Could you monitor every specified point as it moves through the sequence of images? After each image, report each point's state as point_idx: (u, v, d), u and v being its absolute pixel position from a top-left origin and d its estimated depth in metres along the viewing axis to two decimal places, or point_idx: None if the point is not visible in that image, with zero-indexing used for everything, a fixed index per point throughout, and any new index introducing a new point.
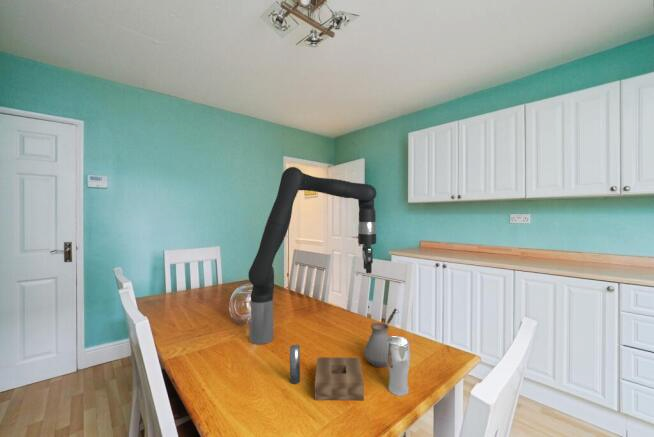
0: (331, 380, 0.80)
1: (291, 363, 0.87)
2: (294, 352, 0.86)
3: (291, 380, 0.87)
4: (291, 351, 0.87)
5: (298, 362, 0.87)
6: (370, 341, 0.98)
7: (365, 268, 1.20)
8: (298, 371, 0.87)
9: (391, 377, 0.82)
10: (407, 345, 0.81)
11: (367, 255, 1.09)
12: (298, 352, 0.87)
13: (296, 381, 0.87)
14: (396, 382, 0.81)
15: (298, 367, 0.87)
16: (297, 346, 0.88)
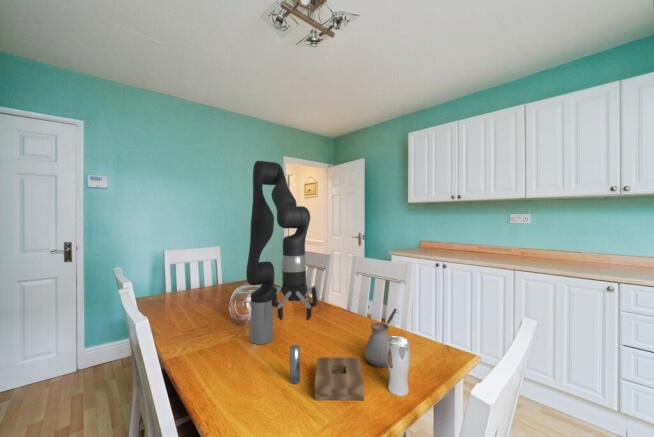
0: (331, 380, 0.80)
1: (291, 363, 0.87)
2: (294, 352, 0.86)
3: (291, 380, 0.87)
4: (291, 351, 0.87)
5: (298, 362, 0.87)
6: (370, 341, 0.98)
7: None
8: (298, 371, 0.87)
9: (391, 377, 0.82)
10: (407, 345, 0.81)
11: (316, 296, 0.87)
12: (298, 352, 0.87)
13: (296, 381, 0.87)
14: (396, 382, 0.81)
15: (298, 367, 0.87)
16: (297, 346, 0.88)
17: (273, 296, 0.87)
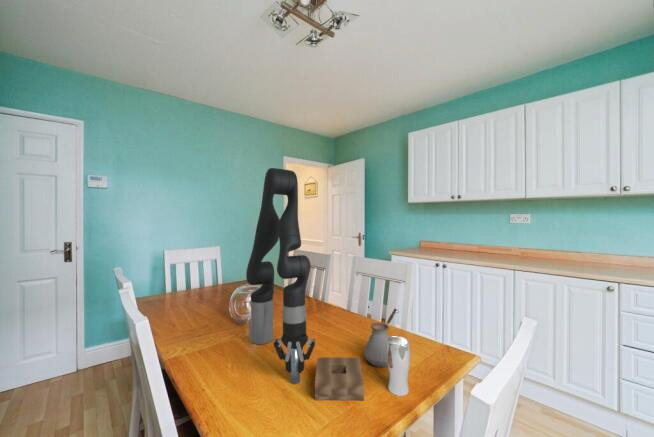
0: (331, 380, 0.80)
1: (291, 363, 0.87)
2: (294, 352, 0.86)
3: (291, 380, 0.87)
4: (291, 351, 0.87)
5: (298, 362, 0.87)
6: (370, 341, 0.98)
7: (289, 371, 0.88)
8: (298, 371, 0.87)
9: (391, 377, 0.82)
10: (407, 345, 0.81)
11: (312, 350, 0.87)
12: None
13: (296, 381, 0.87)
14: (396, 382, 0.81)
15: (298, 367, 0.87)
16: None
17: (277, 350, 0.87)
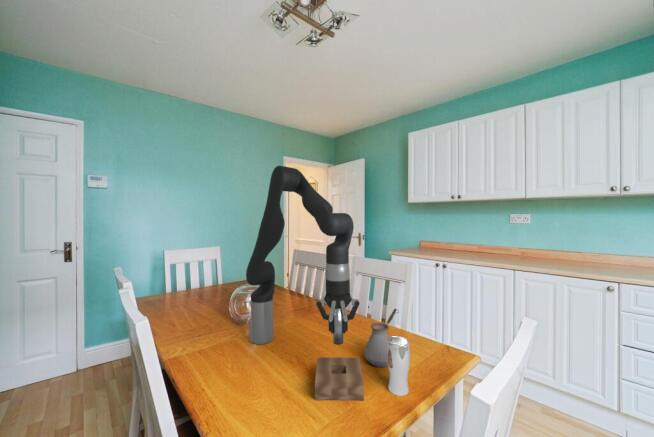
0: (331, 380, 0.80)
1: (335, 323, 0.84)
2: (338, 311, 0.84)
3: (335, 341, 0.84)
4: (335, 311, 0.84)
5: (342, 322, 0.84)
6: (370, 341, 0.98)
7: None
8: (342, 332, 0.84)
9: (391, 377, 0.82)
10: (407, 345, 0.81)
11: (356, 310, 0.84)
12: None
13: (340, 342, 0.84)
14: (396, 382, 0.81)
15: (342, 327, 0.84)
16: None
17: (320, 310, 0.84)
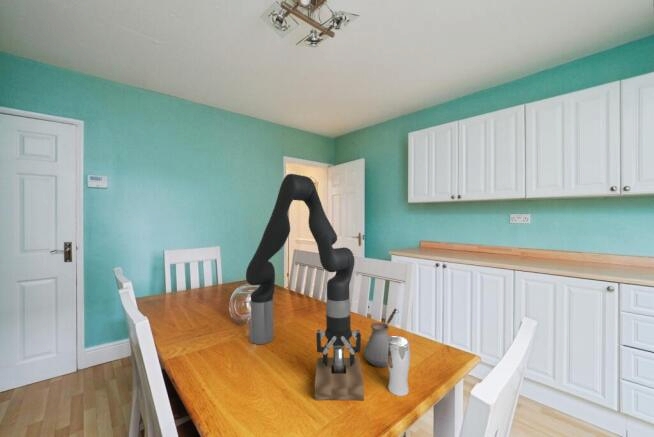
0: (331, 380, 0.80)
1: (335, 364, 0.84)
2: (339, 352, 0.84)
3: None
4: (335, 351, 0.84)
5: (342, 362, 0.85)
6: (370, 341, 0.98)
7: None
8: (342, 372, 0.85)
9: (391, 377, 0.82)
10: (407, 345, 0.81)
11: None
12: (342, 352, 0.85)
13: None
14: (396, 382, 0.81)
15: (342, 368, 0.85)
16: (341, 346, 0.86)
17: (318, 342, 0.84)
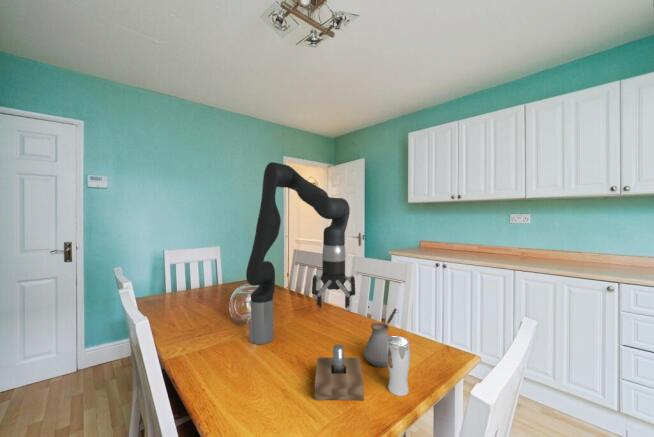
0: (331, 380, 0.80)
1: (335, 363, 0.84)
2: (339, 352, 0.84)
3: None
4: (335, 351, 0.84)
5: (342, 362, 0.85)
6: (370, 341, 0.98)
7: (321, 306, 0.91)
8: (342, 372, 0.85)
9: (391, 377, 0.82)
10: (407, 345, 0.81)
11: (354, 285, 0.90)
12: (342, 352, 0.85)
13: None
14: (396, 382, 0.81)
15: (342, 368, 0.85)
16: (341, 346, 0.86)
17: (313, 284, 0.90)
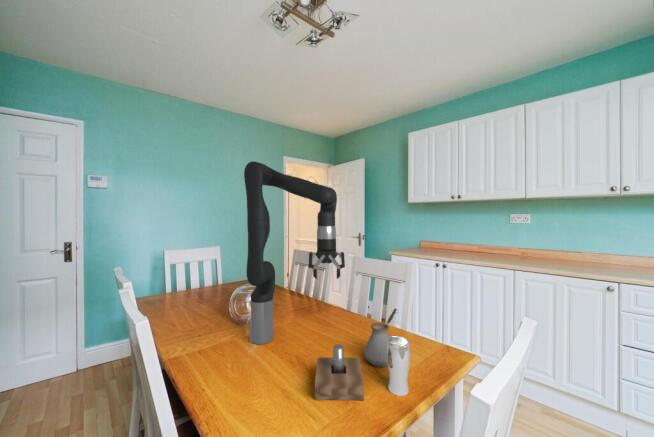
0: (331, 380, 0.80)
1: (335, 363, 0.84)
2: (339, 352, 0.84)
3: None
4: (335, 351, 0.84)
5: (342, 362, 0.85)
6: (370, 341, 0.98)
7: (316, 278, 1.08)
8: (342, 372, 0.85)
9: (391, 377, 0.82)
10: (407, 345, 0.81)
11: (344, 259, 1.07)
12: (342, 352, 0.85)
13: None
14: (396, 382, 0.81)
15: (342, 368, 0.85)
16: (341, 346, 0.86)
17: (310, 259, 1.07)
